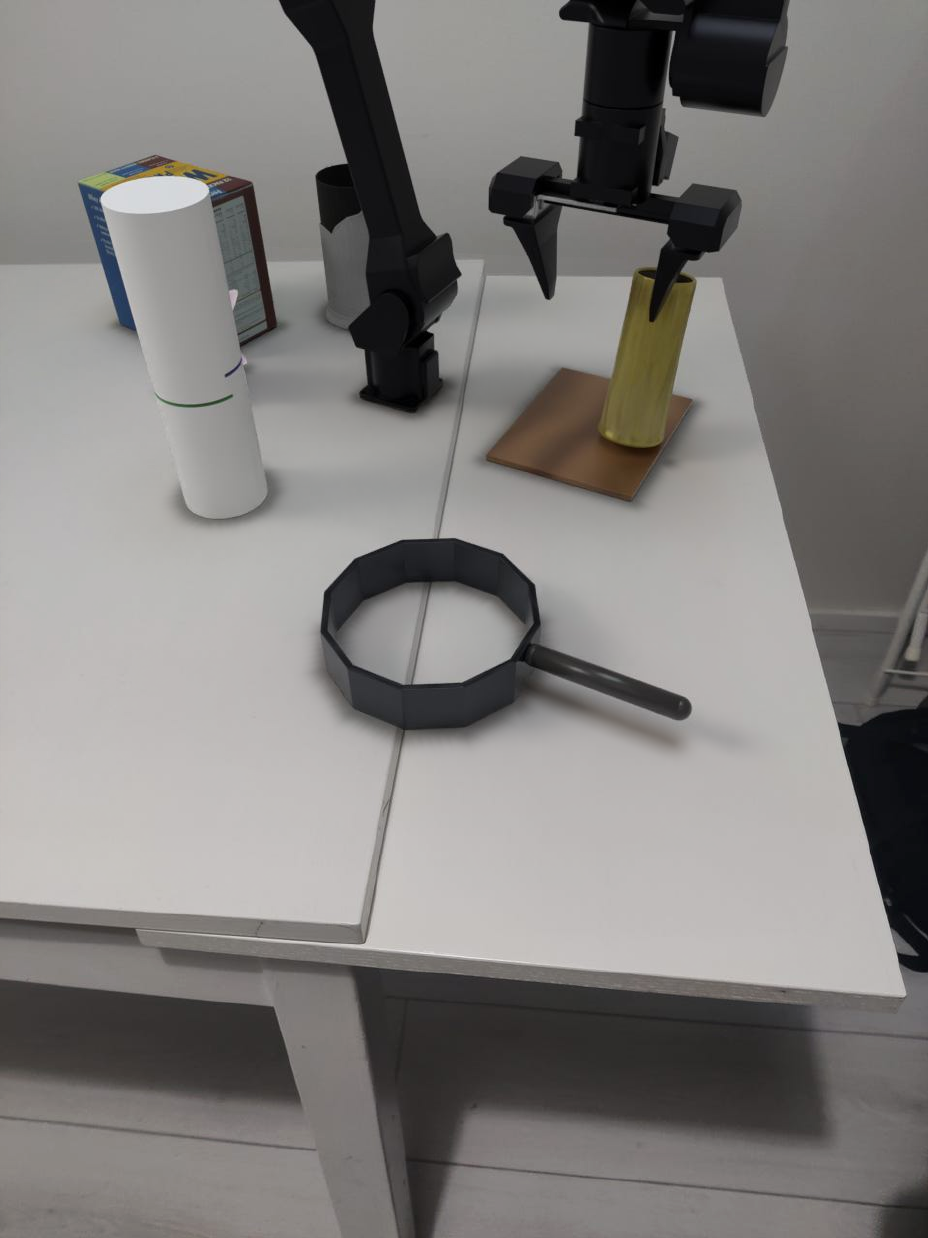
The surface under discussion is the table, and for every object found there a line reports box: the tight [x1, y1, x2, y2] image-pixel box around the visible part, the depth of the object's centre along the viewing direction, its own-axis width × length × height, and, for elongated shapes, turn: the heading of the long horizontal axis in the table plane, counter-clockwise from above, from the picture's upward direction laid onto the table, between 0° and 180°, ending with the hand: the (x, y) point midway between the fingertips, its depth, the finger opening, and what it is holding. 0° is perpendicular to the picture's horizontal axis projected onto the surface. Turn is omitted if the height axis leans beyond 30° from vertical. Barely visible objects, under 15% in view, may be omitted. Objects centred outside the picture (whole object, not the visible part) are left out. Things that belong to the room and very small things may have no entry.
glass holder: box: [314, 163, 370, 330], centre depth 98 cm, size 9×14×15 cm, turn 24°
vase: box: [598, 266, 698, 448], centre depth 77 cm, size 6×6×14 cm
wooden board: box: [485, 367, 694, 502], centre depth 83 cm, size 14×18×1 cm
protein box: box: [76, 154, 278, 346], centre depth 94 cm, size 10×15×16 cm
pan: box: [319, 537, 693, 730], centre depth 60 cm, size 26×15×4 cm, turn 63°
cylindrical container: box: [100, 176, 269, 520], centre depth 68 cm, size 7×7×25 cm
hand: (600, 308), depth 73 cm, fingers open, 9 cm apart
